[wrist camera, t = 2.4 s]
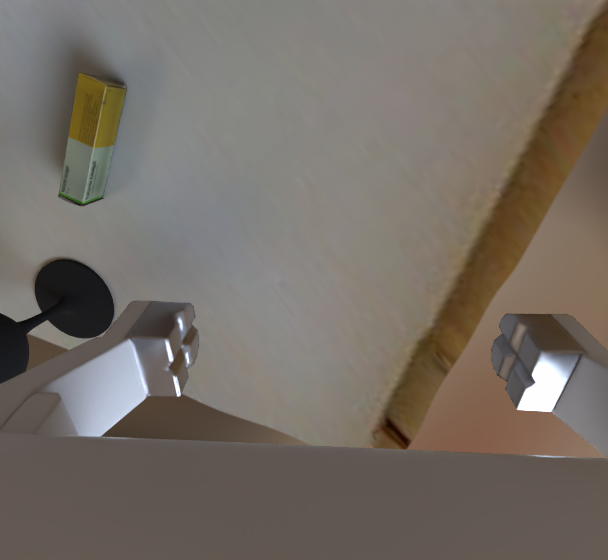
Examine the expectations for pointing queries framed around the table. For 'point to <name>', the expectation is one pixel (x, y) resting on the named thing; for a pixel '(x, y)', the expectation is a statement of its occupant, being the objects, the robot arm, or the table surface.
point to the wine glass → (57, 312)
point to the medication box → (91, 138)
